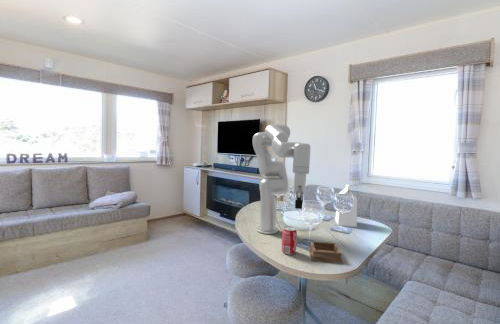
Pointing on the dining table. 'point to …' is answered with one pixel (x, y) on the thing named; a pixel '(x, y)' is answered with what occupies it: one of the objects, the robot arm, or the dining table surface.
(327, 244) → the brown wooden tray
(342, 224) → the milk
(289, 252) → the soda can
